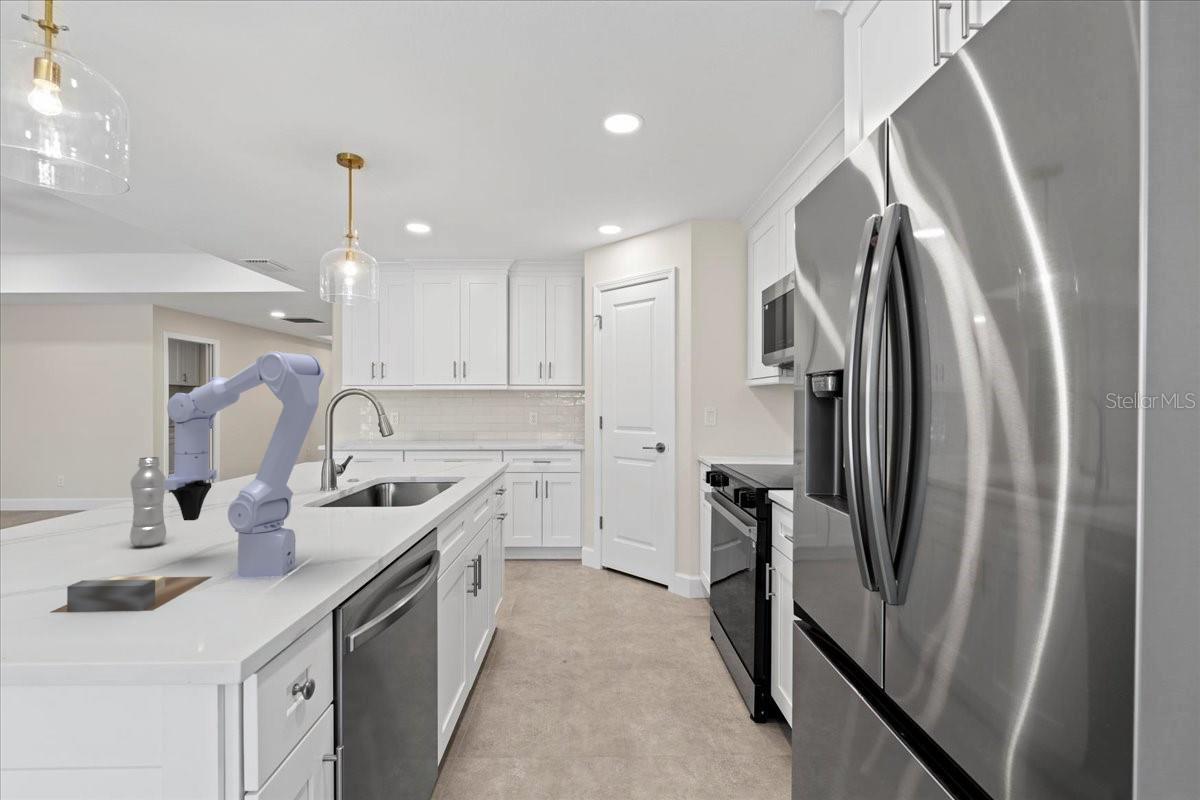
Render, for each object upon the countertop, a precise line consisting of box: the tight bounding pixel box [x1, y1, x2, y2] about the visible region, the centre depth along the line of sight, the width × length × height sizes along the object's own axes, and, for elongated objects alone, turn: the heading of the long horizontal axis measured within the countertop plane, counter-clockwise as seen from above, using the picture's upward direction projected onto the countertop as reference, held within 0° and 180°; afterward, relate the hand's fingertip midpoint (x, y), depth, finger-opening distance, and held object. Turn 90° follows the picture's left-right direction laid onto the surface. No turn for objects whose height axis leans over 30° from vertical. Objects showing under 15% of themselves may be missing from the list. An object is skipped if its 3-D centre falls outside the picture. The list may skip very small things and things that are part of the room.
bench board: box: [49, 576, 212, 614], centre depth 99 cm, size 15×17×5 cm
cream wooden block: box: [107, 575, 166, 598], centre depth 97 cm, size 8×5×3 cm, turn 96°
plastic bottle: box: [129, 456, 167, 547], centre depth 131 cm, size 6×7×20 cm
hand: (191, 519), depth 117 cm, fingers closed
